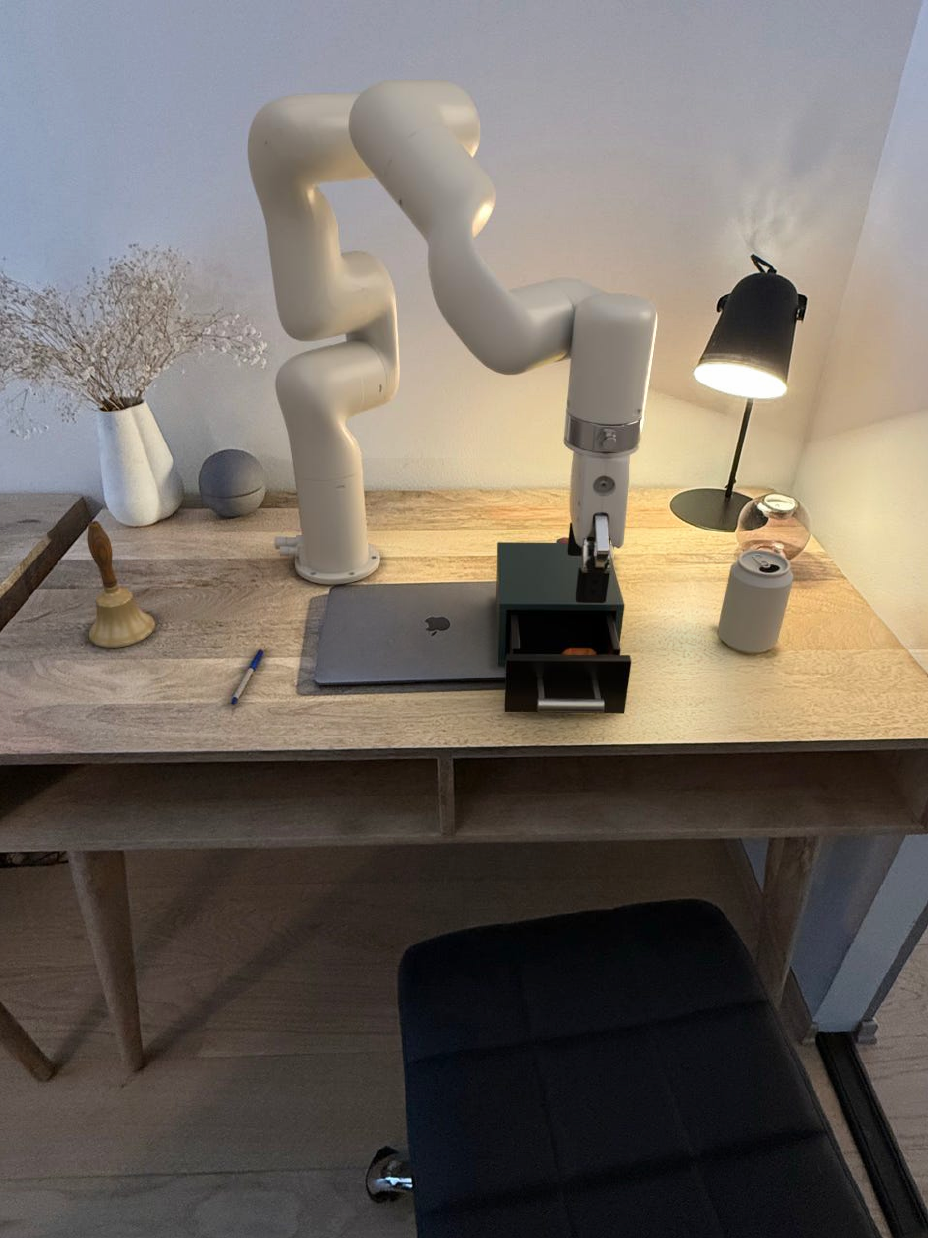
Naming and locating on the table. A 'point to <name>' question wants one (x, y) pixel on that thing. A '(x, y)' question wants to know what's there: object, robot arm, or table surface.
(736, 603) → the can
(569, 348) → the robot arm
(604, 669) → the open black drawer
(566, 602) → the drawer cabinet
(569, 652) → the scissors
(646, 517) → the table surface
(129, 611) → the hand bell
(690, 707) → the table surface
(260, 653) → the ballpoint pen
